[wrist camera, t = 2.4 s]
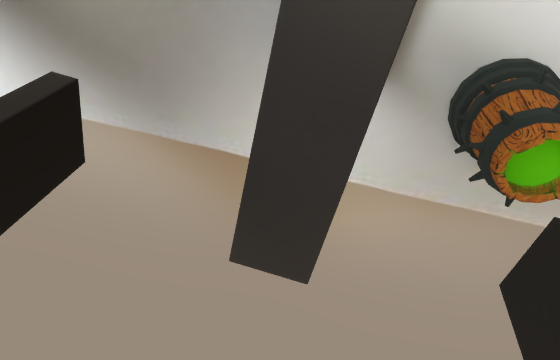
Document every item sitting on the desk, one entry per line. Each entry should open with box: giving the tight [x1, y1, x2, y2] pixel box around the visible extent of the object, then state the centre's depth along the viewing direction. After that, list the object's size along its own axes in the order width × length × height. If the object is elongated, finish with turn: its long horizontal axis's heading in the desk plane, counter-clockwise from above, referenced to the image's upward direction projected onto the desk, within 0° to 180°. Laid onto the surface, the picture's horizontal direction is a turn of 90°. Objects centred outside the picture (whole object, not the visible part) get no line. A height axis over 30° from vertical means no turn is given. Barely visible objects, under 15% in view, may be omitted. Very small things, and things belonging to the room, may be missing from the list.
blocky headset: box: [229, 0, 417, 284], centre depth 20 cm, size 6×17×14 cm, turn 168°
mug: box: [448, 58, 560, 207], centre depth 32 cm, size 13×10×12 cm
